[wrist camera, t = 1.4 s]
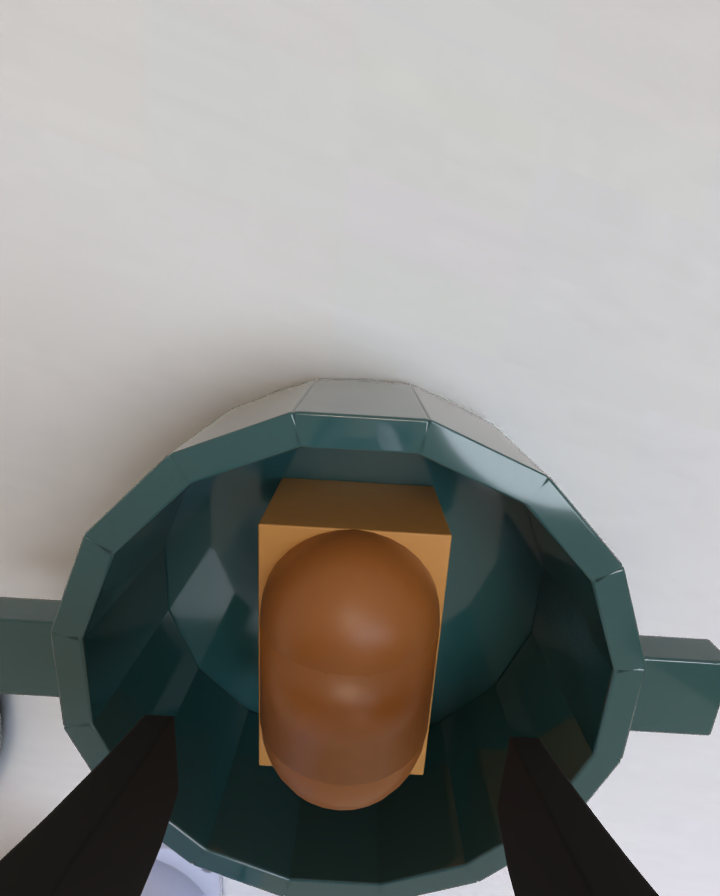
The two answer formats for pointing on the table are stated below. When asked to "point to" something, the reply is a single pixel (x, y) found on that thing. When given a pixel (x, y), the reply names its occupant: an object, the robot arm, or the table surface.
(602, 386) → the table surface
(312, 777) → the bread
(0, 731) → the lid
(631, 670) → the pot
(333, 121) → the table surface
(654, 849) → the table surface
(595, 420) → the table surface
